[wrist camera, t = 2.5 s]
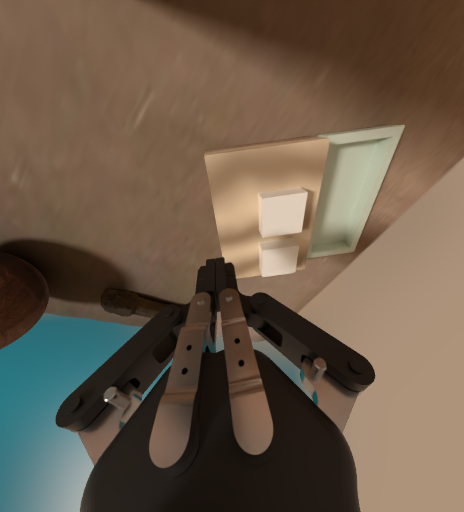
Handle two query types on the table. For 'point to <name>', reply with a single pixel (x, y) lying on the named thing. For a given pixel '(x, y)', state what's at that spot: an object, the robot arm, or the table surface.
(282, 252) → the tile far
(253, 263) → the light wood flat block
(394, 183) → the table surface
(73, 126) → the table surface
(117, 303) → the hand tool
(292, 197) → the tile near
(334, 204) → the tray
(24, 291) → the wooden sphere
